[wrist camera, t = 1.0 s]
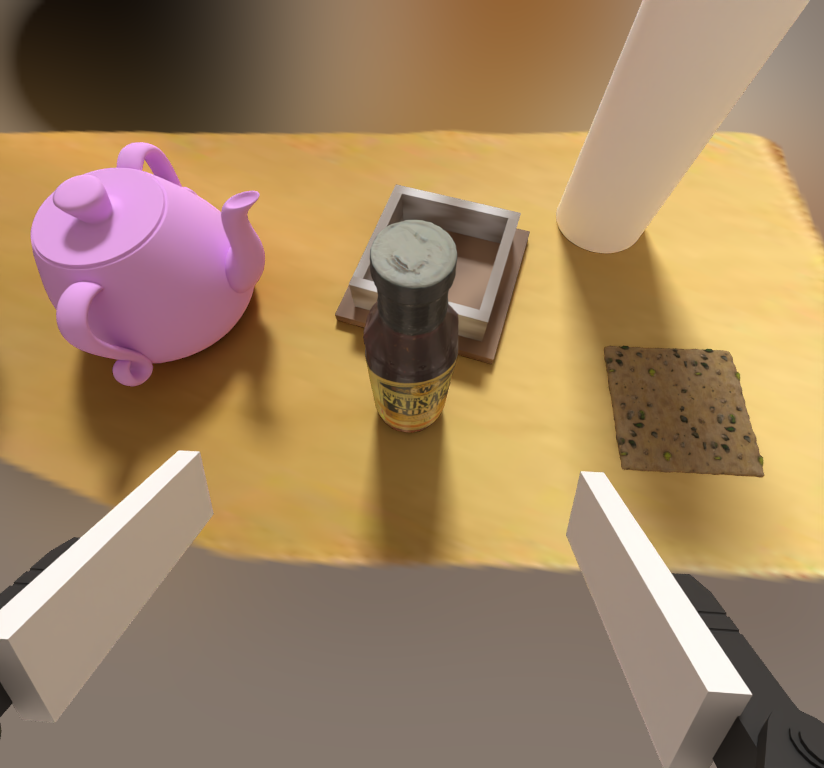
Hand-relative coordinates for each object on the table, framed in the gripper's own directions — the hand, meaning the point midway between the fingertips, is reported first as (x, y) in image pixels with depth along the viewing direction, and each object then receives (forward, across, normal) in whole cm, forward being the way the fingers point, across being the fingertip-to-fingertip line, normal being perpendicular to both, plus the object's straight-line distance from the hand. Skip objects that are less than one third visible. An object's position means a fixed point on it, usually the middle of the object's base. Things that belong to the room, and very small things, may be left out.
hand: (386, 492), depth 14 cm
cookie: (+22, +24, -7) cm, 33 cm away
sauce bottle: (+21, 0, -7) cm, 22 cm away
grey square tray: (+31, +2, +3) cm, 31 cm away
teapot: (+28, -22, 0) cm, 36 cm away
